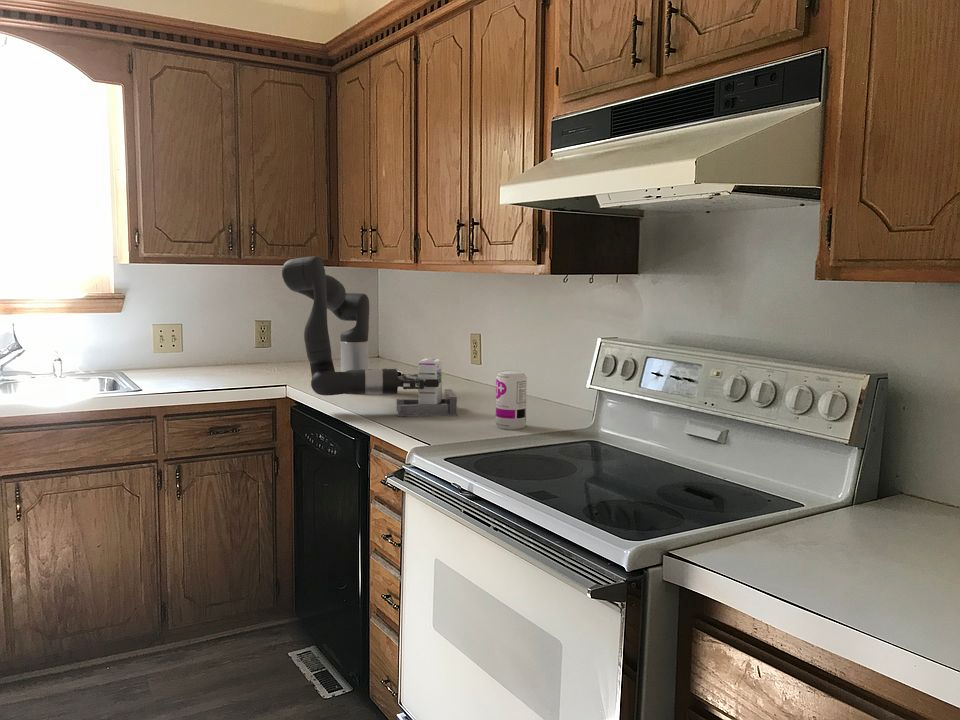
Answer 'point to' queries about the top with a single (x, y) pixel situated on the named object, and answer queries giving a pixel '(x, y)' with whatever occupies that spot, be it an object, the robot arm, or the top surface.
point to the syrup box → (430, 371)
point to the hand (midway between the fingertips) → (437, 381)
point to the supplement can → (511, 399)
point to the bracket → (428, 406)
